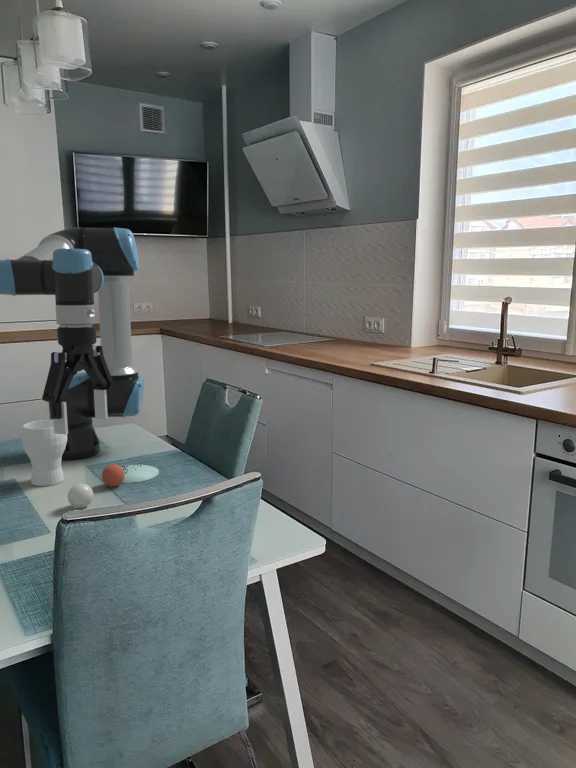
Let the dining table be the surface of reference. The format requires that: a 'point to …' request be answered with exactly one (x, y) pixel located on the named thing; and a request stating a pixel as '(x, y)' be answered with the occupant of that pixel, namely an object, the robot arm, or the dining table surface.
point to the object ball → (113, 475)
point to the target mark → (139, 473)
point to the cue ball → (80, 495)
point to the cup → (44, 451)
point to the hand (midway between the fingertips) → (82, 425)
